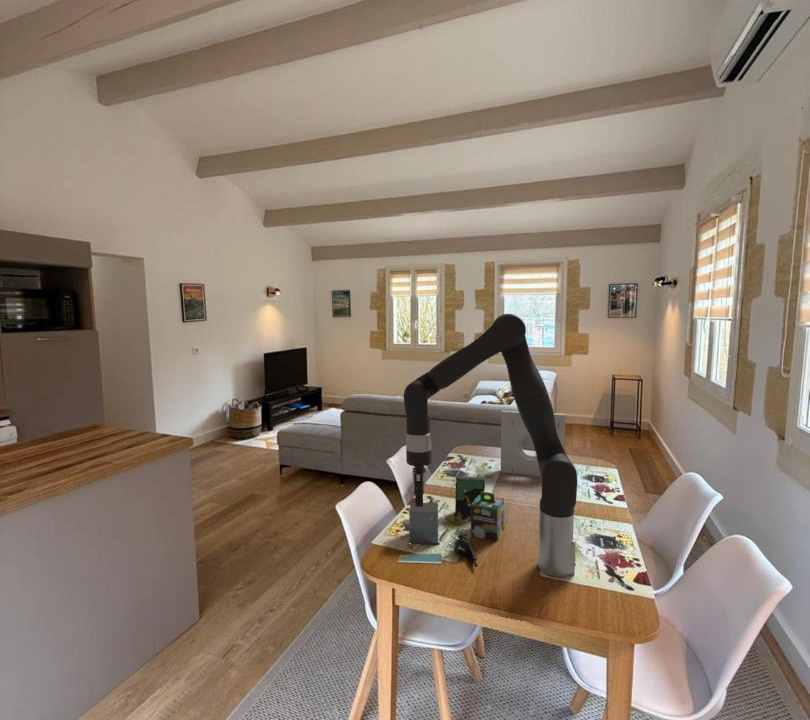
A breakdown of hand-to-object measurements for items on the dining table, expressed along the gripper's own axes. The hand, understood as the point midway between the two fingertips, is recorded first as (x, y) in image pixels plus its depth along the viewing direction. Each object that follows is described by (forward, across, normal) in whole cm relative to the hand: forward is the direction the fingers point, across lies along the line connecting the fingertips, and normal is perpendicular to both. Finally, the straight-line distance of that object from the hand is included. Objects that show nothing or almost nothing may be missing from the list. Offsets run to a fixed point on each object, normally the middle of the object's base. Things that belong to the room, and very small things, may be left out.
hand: (419, 500), depth 131 cm
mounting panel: (+18, +64, -47) cm, 82 cm away
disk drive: (+18, +26, -17) cm, 36 cm away
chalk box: (+18, +14, -22) cm, 32 cm away
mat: (+18, 0, 0) cm, 18 cm away
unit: (+18, +10, -1) cm, 20 cm away
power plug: (+15, -8, -13) cm, 21 cm away
